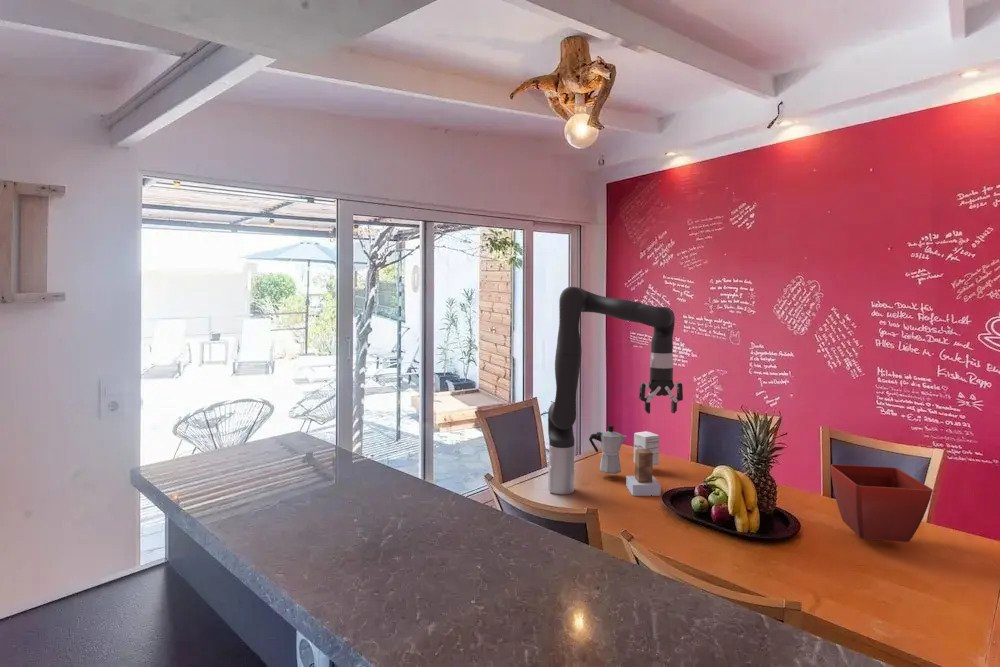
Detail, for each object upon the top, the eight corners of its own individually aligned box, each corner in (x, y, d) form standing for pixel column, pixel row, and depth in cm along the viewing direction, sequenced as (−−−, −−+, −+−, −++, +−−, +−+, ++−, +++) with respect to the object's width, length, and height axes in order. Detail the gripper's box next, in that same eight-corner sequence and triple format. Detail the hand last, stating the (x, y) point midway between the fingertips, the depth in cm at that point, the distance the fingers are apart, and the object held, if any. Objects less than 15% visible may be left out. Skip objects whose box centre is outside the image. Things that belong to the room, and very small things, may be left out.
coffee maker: (625, 467, 220) (625, 423, 219) (628, 474, 211) (628, 428, 210) (587, 466, 222) (588, 422, 220) (589, 473, 213) (589, 427, 212)
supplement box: (632, 462, 226) (633, 432, 225) (647, 460, 229) (647, 430, 228) (644, 467, 219) (645, 436, 218) (659, 465, 222) (659, 434, 221)
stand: (632, 495, 197) (632, 485, 197) (626, 486, 207) (626, 475, 207) (660, 495, 197) (660, 484, 197) (652, 485, 207) (652, 475, 207)
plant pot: (931, 549, 149) (934, 489, 148) (854, 544, 153) (857, 485, 151) (894, 520, 168) (896, 467, 167) (826, 516, 172) (828, 463, 170)
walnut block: (638, 482, 199) (639, 453, 198) (635, 478, 204) (635, 449, 203) (652, 482, 199) (652, 453, 198) (648, 477, 204) (648, 449, 203)
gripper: (678, 364, 189) (677, 410, 190) (637, 364, 189) (636, 410, 190) (686, 367, 182) (685, 415, 183) (643, 367, 182) (642, 415, 183)
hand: (660, 412), depth 187 cm, fingers open, 8 cm apart
